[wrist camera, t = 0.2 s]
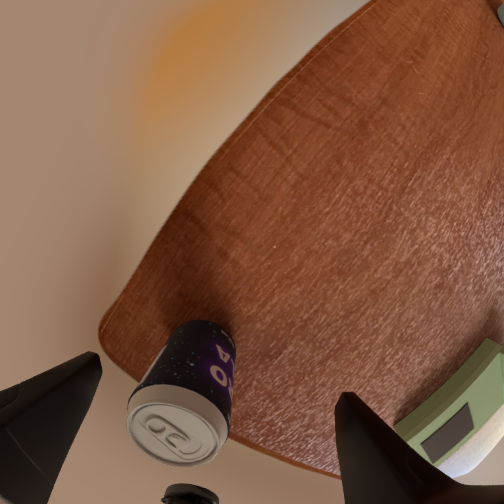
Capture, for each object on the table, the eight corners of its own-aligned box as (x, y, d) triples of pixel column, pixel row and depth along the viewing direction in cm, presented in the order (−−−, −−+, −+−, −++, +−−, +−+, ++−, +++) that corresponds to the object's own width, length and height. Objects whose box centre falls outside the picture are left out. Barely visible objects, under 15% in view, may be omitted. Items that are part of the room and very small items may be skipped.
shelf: (417, 460, 25) (431, 481, 20) (392, 426, 24) (410, 452, 19) (496, 387, 25) (515, 400, 20) (486, 337, 24) (512, 350, 19)
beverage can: (207, 385, 23) (183, 482, 11) (159, 345, 23) (102, 426, 11) (250, 346, 23) (252, 442, 11) (200, 302, 23) (157, 373, 11)
